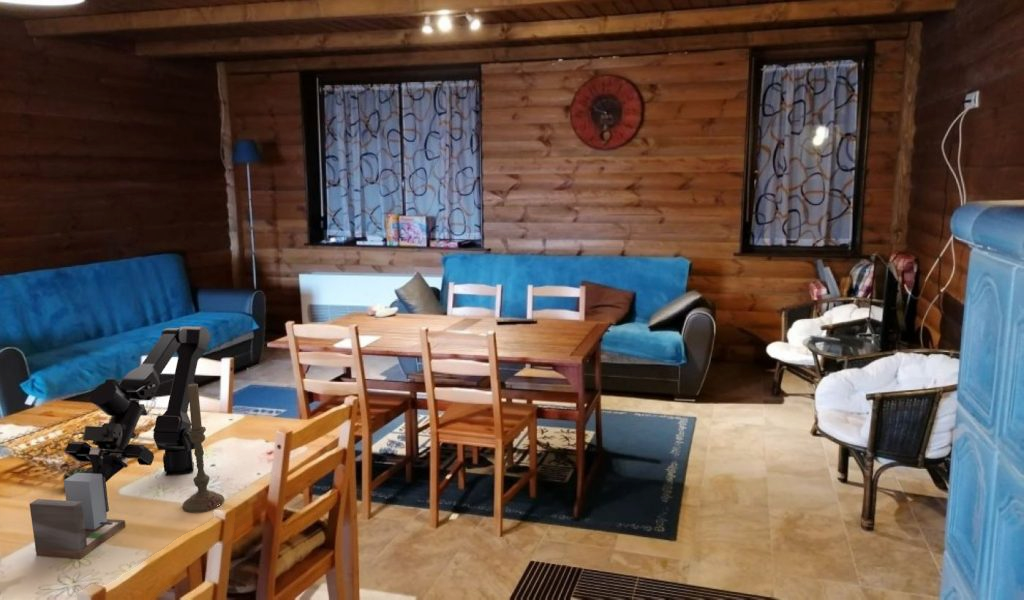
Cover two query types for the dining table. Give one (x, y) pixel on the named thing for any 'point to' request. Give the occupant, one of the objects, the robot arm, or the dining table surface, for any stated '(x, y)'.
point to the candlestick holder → (199, 460)
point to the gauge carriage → (89, 497)
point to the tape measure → (77, 471)
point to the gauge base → (66, 529)
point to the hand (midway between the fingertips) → (94, 489)
